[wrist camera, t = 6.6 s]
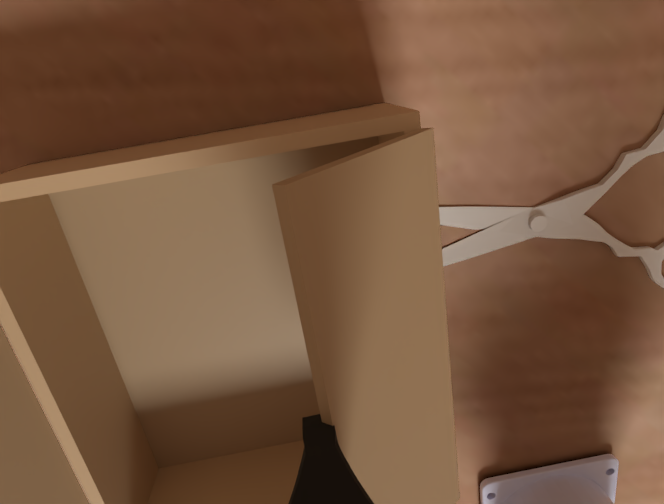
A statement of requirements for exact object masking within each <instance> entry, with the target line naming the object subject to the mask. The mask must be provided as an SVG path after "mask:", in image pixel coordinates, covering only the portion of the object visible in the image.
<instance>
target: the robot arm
mask: <svg viewBox="0 0 664 504" xmlns="http://www.w3.org/2000/svg"><path fill="white" fill-rule="evenodd" d="M302 432H303V442H304V450H303V455H302V459H301V463H300V467H299V471H298V475H297V478H296V482H295V485H294V488H293V491H292V494H291V497H290V500H289V503H288V504H374V503H373V501H372V500H371V498H370V497H369V495H368V494H367V492H366V491H365V489H364V488H363V486H362V485H361V483H360V482H359V480H358V479H357V477H356V476H355V474H354V472H353V470H352V469H351V467H350V465H349V463H348V462H347V460H346V458H345V456H344V455H343V453H342V451H341V449H340V447H339V444H338V440H337V435H336V430H335V425H334V426H332V425H329V424H326V423H323V422H322V420H321V415H320V414H317V415H312V416H308V417H303V418H302ZM618 466H619V461H618V460H617V458H616V457H615V456H614V455H613V454H604V455H599V456H594V457H589V458H584V459H579V460H574V461H569V462H565V463H560V464H555V465H550V466H545V467H540V468H535V469H530V470H525V471H520V472H515V473H510V474H505V475H500V476H495V477H490V478H486V479H484V480H483V481H482V482H481V483H480V500H481V504H615V494H616V485H617V475H618Z"/></svg>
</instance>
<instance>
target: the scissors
mask: <svg viewBox="0 0 664 504" xmlns="http://www.w3.org/2000/svg"><path fill="white" fill-rule="evenodd" d="M661 152H664V114H663V116H662V118H661V121H660V124H659V126H658V129H657V130H656V131H655V133H654V134H653V135H652V136H651V137H650V138H649V139H648V140H647V141H646V143H645V144H644V145H643V146H642V147H641V148H639V149H635V150H632V151H628V152H624V153H621V155H620V157H619V159H618V160H617V162H616V164H615V165H614V167H613V169H612V170H611V171H610V172H609V173H608V174H607V175H606V176H605V177H604V178H603V179H602V180H601V181H600V182H599V183H597V184H594V185H592V186H589V187H586V188H583V189H580V190H577V191H575V192H572V193H569V194H567V195H564V196H562V197H559V198H556V199H554V200H551V201H549V202H546V203H543V204H541V205H538V206H536V207H492V206H450V207H439V215H440V225H445V226H452V227H459V228H466V229H473V230H477V229H484V230H483V231H480V232H478V233H476V234H474V235H472V236H469V237H467V238H465V239H463V240H461V241H458V242H456V243H454V244H452V245H450V246H448V247H445V248H443V249H442V257H443V266H447V265H450V264H453V263H457V262H460V261H463V260H467V259H470V258H473V257H476V256H479V255H482V254H485V253H488V252H491V251H494V250H497V249H500V248H503V247H506V246H509V245H513V244H516V243H519V242H522V241H525V240H528V239H531V238H534V237H542V238H555V239H581V240H588V241H598V242H604V243H605V244H607V245H608V246H609V247H610V249H611V250H612V252H613V253H614V255H616V256H617V257H634V256H638V257H639V258H640V260H641V261H642V263H643V264H644V266H645V268H646V270H647V273H648V276H649V277H650V279H651V280H652V281H654V282H655V283H656V284H658V285H659V286H661V287H662V288H663V289H664V277H663V276H662V274H661V268H662V261H663V259H664V242H662V243H661V244H659V245H658V246H657V247H655V248H654V249H653V248H651V247H649V246H642V247H630V246H628V245H626V244H624V243H622V242H620V241H619V240H617V239H615V238H614V237H612V236H611V235H610V234H608V233H607V232H606V231H605V230H604V229H603V228H602V227H601V226H600V225H599V224H598V223H596V222H595V221H593V220H592V219H590V218H589V217H587V216H586V215H584V213H585V212H586V211H587V210H588V209H589V208H590V207H591V206H592V205H593V204H594V203H595V202H596V201H598V200H599V199H600V198H601V197H602V196H603V195H604V194H605V193H606V192H607V191H608V190H609V189H610V187H611V186H612V185H613V184H614V183H615V182H616V181H617V180H618V179H619V178H620V177H621V176H622V175H623V174H624V173H625V172H626V171H627V170H628V169H629V168H631V167H632V166H633V165H635V164H636V163H638V162H639V161H641V160H642V159H644V158H645V157H647V156H649V155H653V154H657V153H661Z"/></svg>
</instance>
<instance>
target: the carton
mask: <svg viewBox="0 0 664 504" xmlns="http://www.w3.org/2000/svg"><path fill="white" fill-rule="evenodd" d="M418 129H421V126H420V114H419V111H417V110H413V109H409V108H405V107H401V106H396V105H392V104H388V103H379V104H374V105H368V106H362V107H356V108H351V109H345V110H339V111H333V112H328V113H322V114H316V115H310V116H305V117H299V118H293V119H287V120H281V121H276V122H270V123H264V124H258V125H253V126H247V127H241V128H235V129H230V130H224V131H218V132H212V133H207V134H201V135H195V136H189V137H183V138H178V139H172V140H166V141H160V142H155V143H149V144H143V145H137V146H132V147H126V148H120V149H114V150H109V151H103V152H97V153H91V154H85V155H80V156H74V157H68V158H62V159H57V160H51V161H45V162H39V163H34V164H29V165H26V166H23V167H20V168H17V169H14V170H11V171H8V172H5V173H2V174H0V323H1V325H2V327H3V330H4V332H5V334H6V336H7V338H8V340H9V342H10V344H11V346H12V348H13V350H14V352H15V354H16V356H17V358H18V360H19V362H20V364H21V366H22V368H23V370H24V372H25V374H26V376H27V378H28V380H29V382H30V384H31V386H32V388H33V390H34V392H35V394H36V396H37V398H38V400H39V402H40V404H41V406H42V408H43V410H44V412H45V414H46V416H47V418H48V420H49V422H50V424H51V426H52V428H53V430H54V432H55V434H56V436H57V438H58V440H59V442H60V444H61V446H62V448H63V450H64V452H65V454H66V456H67V458H68V460H69V462H70V464H71V466H72V468H73V470H74V472H75V474H76V476H77V478H78V480H79V482H80V484H81V486H82V488H83V490H84V492H85V494H86V496H87V498H88V500H89V502H90V504H288V503H289V500H290V497H291V494H292V491H293V488H294V485H295V482H296V478H297V475H298V471H299V467H300V463H301V459H302V455H303V450H304V442H303V432H302V418H303V417H308V416H312V415H317V414H320V411H319V406H318V401H317V396H316V392H315V387H314V382H313V378H312V373H311V368H310V363H309V359H308V354H307V349H306V344H305V340H304V335H303V330H302V326H301V321H300V316H299V311H298V307H297V302H296V297H295V292H294V288H293V283H292V278H291V274H290V269H289V264H288V259H287V255H286V250H285V245H284V240H283V236H282V231H281V226H280V222H279V217H278V212H277V207H276V203H275V198H274V193H273V188H272V184H275V183H277V182H280V181H283V180H285V179H288V178H291V177H293V176H296V175H299V174H301V173H304V172H307V171H309V170H312V169H315V168H317V167H320V166H323V165H325V164H328V163H331V162H333V161H336V160H339V159H341V158H344V157H347V156H349V155H352V154H355V153H357V152H360V151H363V150H365V149H368V148H371V147H373V146H376V145H379V144H381V143H384V142H387V141H389V140H392V139H395V138H397V137H400V136H402V135H405V134H408V133H410V132H413V131H416V130H418Z"/></svg>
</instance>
